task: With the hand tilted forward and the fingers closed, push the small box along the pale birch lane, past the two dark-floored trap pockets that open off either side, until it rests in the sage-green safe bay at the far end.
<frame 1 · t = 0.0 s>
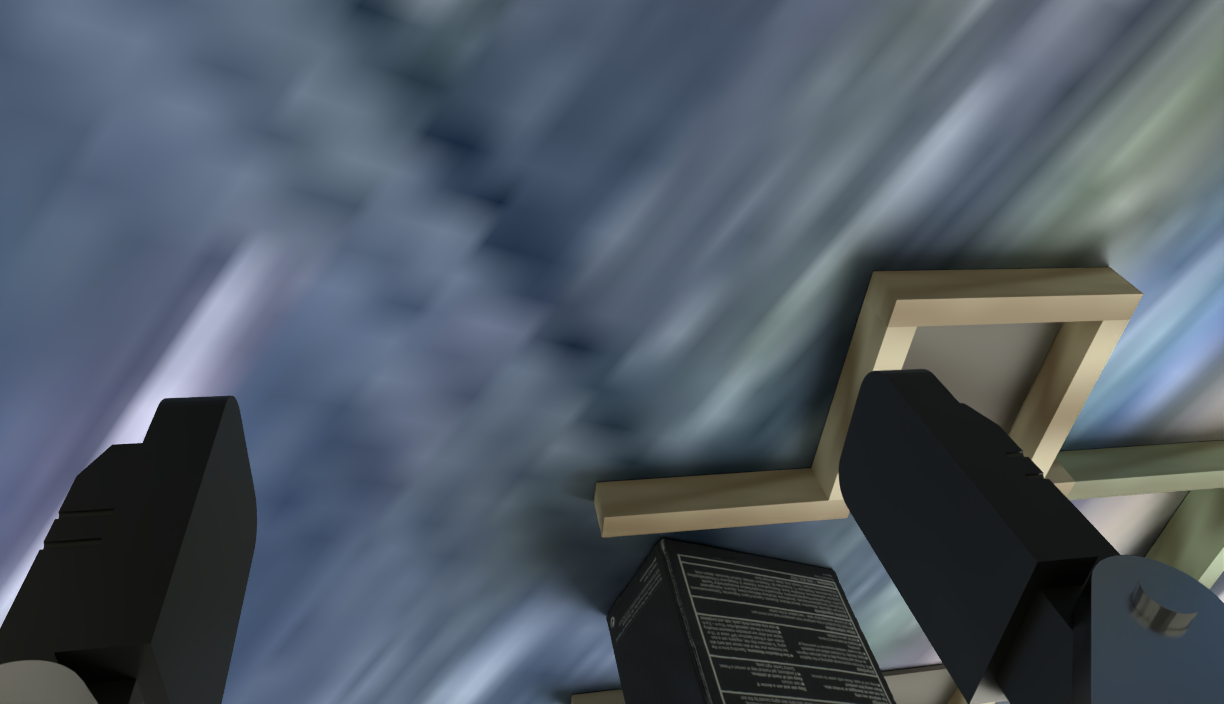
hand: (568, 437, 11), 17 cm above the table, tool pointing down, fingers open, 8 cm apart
small box: (718, 590, 43), on the table
trap course: (902, 577, 45), on the table
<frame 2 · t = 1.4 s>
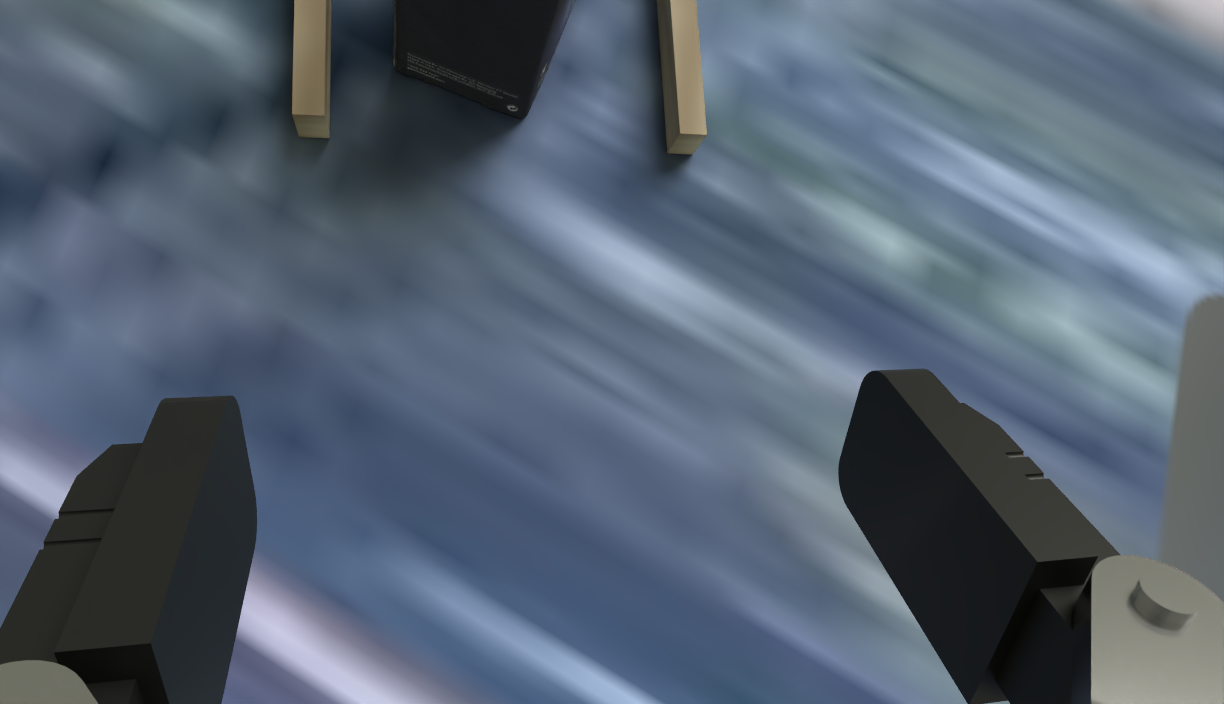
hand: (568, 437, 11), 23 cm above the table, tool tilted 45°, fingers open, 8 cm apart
small box: (500, 4, 39), on the table
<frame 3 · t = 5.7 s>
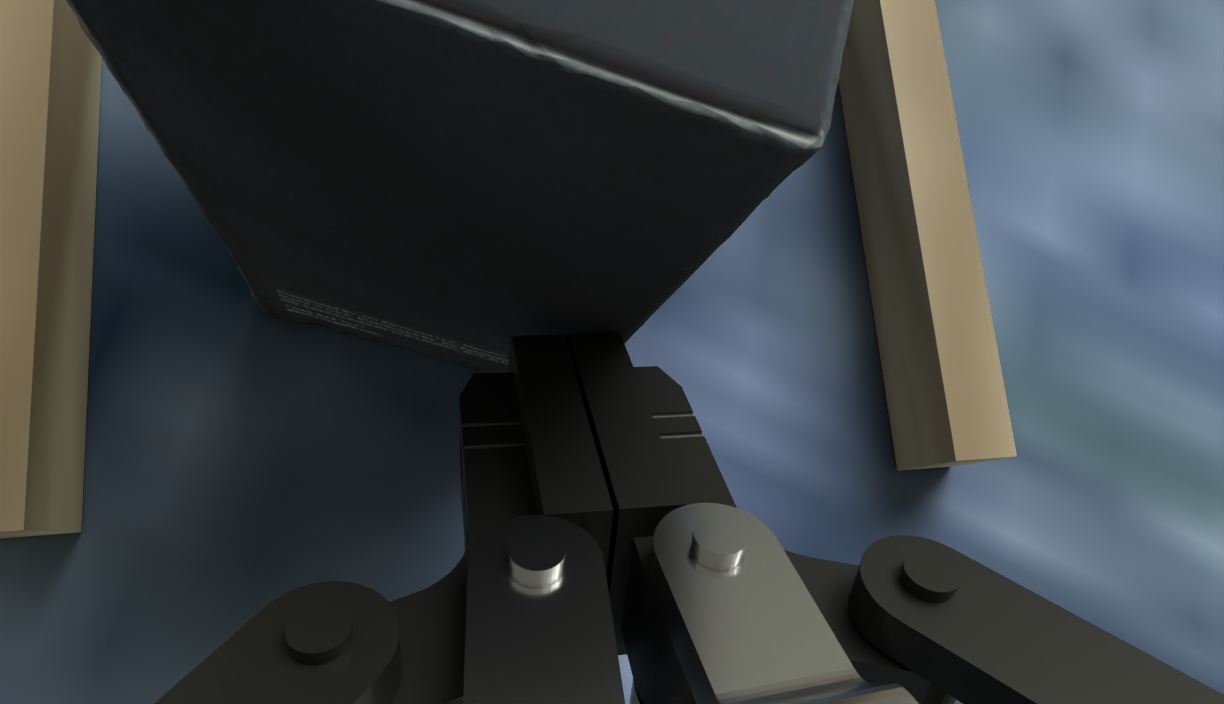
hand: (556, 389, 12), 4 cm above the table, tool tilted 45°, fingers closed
small box: (504, 117, 17), on the table, touching gripper
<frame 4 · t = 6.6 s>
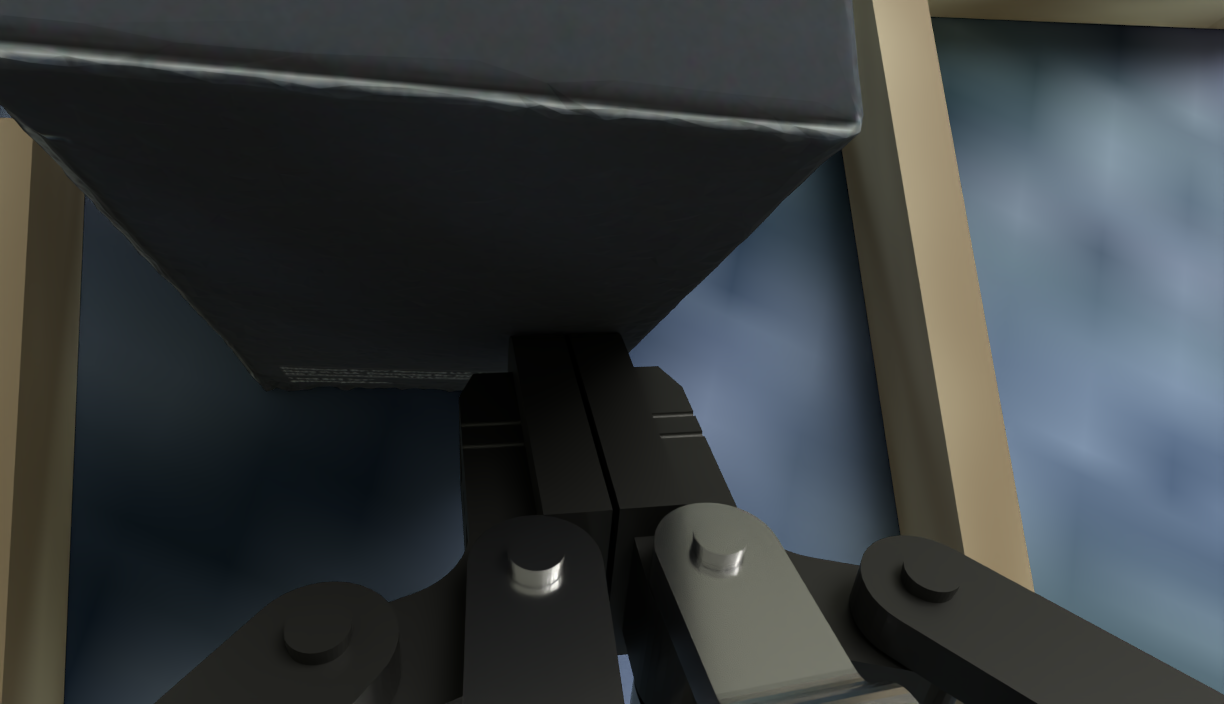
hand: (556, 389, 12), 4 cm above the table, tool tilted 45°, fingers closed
small box: (448, 132, 17), on the table, touching gripper
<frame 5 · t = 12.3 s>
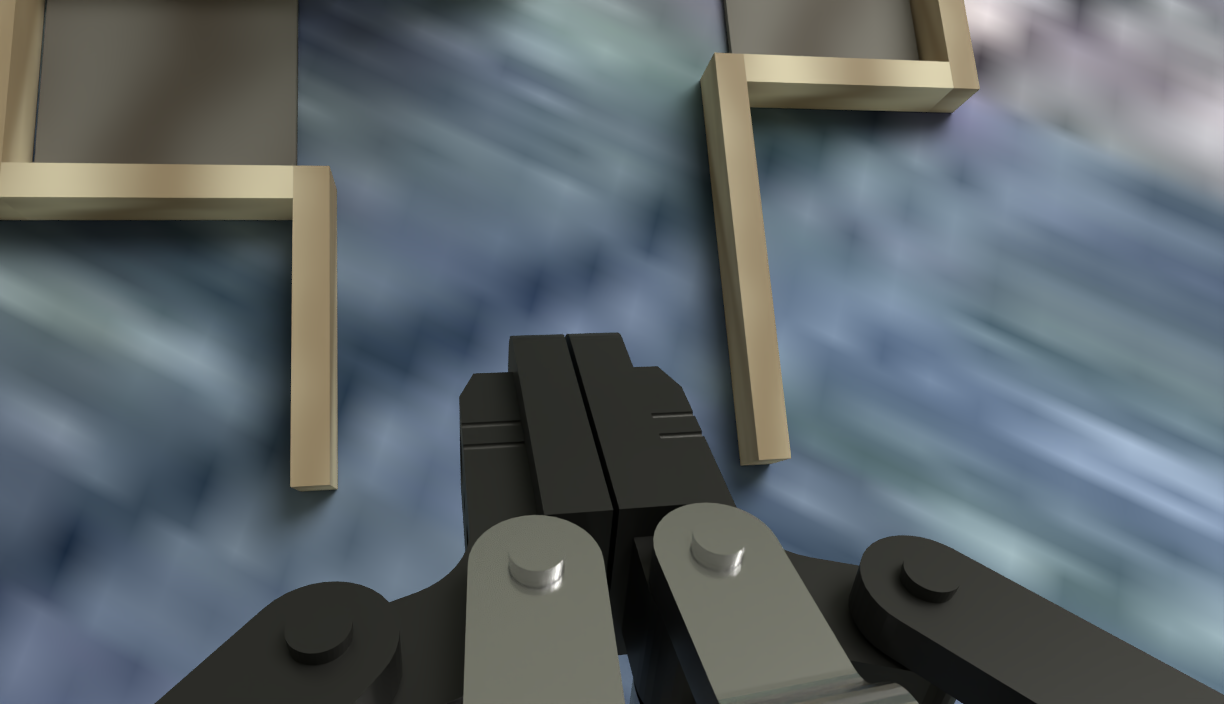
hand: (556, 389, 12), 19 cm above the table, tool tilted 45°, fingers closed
trap course: (524, 51, 34), on the table
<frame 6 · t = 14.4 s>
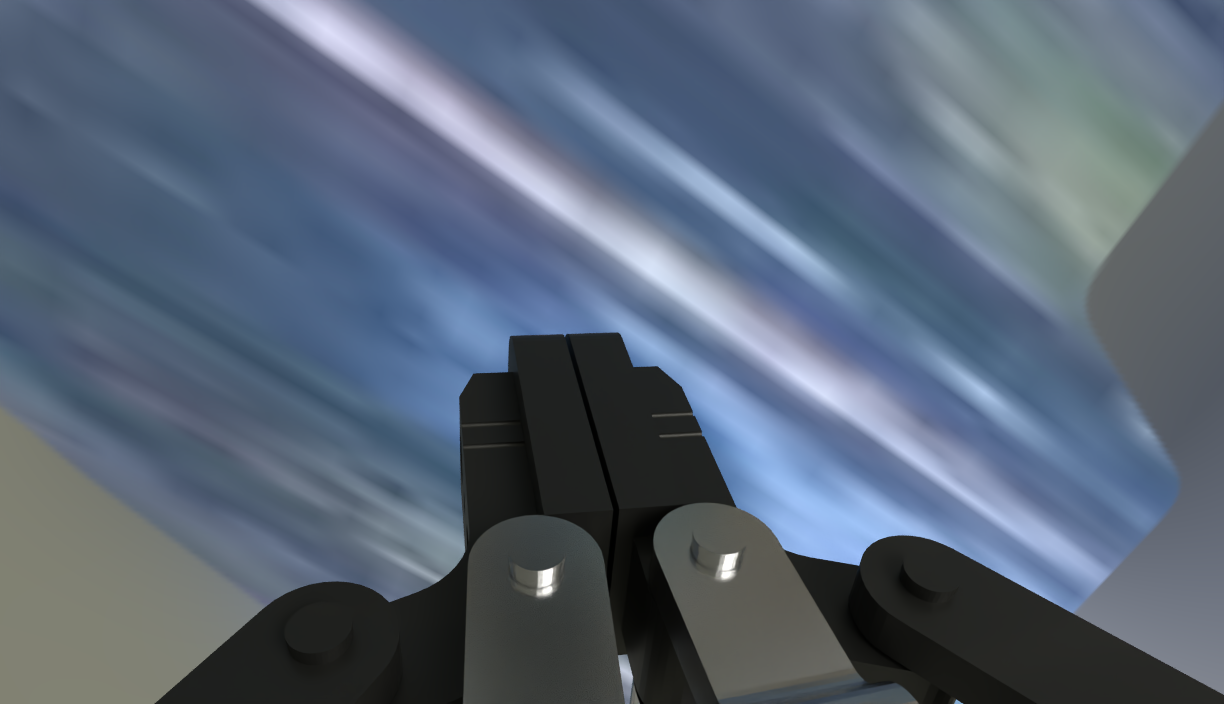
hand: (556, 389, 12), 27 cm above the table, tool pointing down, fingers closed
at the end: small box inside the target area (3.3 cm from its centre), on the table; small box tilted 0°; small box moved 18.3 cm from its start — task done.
